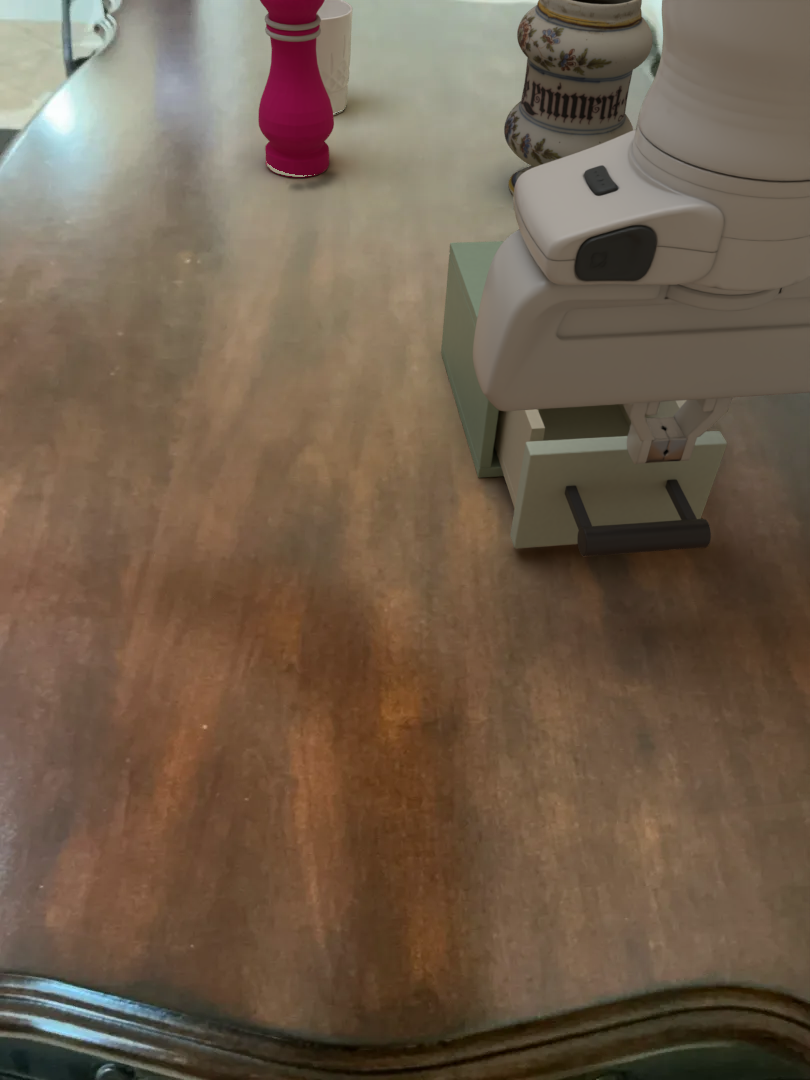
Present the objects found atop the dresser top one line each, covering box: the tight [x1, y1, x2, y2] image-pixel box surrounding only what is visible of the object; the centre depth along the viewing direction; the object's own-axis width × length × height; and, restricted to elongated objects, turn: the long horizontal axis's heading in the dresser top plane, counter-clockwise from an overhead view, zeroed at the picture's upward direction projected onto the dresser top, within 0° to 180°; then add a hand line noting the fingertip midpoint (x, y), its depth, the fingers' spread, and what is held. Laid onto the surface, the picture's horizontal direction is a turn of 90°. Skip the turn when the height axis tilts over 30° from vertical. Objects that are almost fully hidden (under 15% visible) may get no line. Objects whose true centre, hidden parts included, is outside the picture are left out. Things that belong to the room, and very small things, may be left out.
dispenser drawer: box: [494, 400, 728, 558], centre depth 59 cm, size 18×11×7 cm, turn 8°
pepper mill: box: [258, 0, 335, 179], centre depth 90 cm, size 7×7×20 cm
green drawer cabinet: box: [440, 240, 505, 479], centre depth 67 cm, size 15×13×9 cm
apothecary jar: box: [503, 0, 654, 196], centre depth 89 cm, size 12×12×18 cm
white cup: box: [316, 0, 354, 116], centre depth 104 cm, size 8×8×10 cm
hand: (656, 455), depth 51 cm, fingers closed
